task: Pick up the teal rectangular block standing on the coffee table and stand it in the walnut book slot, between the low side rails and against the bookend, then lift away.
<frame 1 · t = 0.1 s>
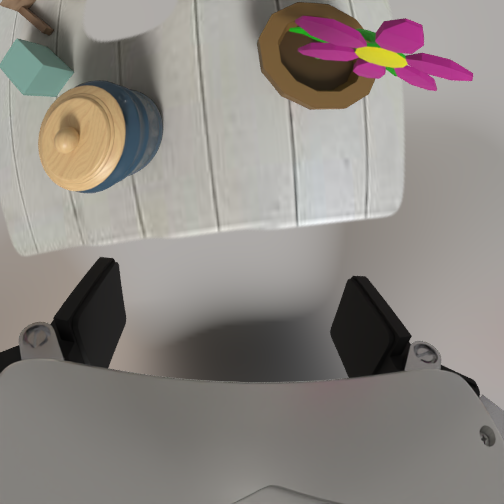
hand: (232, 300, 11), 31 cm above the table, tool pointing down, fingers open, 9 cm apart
flowerpot: (300, 68, 33), on the table
teal rectangular block: (50, 70, 28), on the table
book slot: (52, 3, 21), on the table
canister: (124, 132, 35), on the table
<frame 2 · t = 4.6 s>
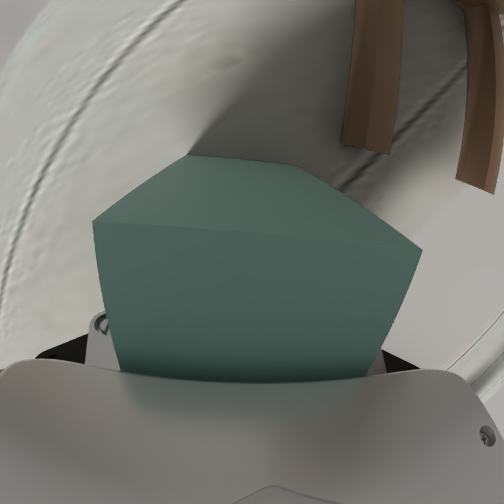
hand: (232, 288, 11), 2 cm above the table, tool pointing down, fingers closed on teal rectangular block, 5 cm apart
teal rectangular block: (231, 260, 14), on the table, touching gripper
book slot: (428, 56, 9), on the table
when the fingers open (4 cm above the table, at t = 9.9 s): teal rectangular block drops 1 cm, resting in book slot.
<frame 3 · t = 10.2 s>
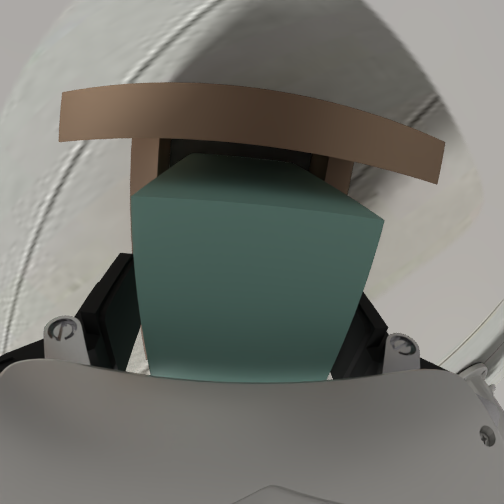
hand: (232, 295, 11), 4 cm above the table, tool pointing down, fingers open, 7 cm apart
teal rectangular block: (233, 249, 15), resting in book slot
book slot: (230, 249, 15), on the table
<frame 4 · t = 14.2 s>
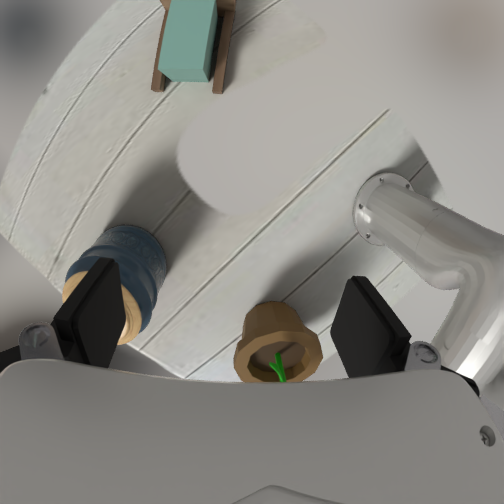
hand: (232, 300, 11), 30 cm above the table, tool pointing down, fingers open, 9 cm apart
flowerpot: (270, 322, 50), on the table
teal rectangular block: (195, 50, 30), resting in book slot
book slot: (194, 50, 30), on the table
canister: (131, 259, 43), on the table
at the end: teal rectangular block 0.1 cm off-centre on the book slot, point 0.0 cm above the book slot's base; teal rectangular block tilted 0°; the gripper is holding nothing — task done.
